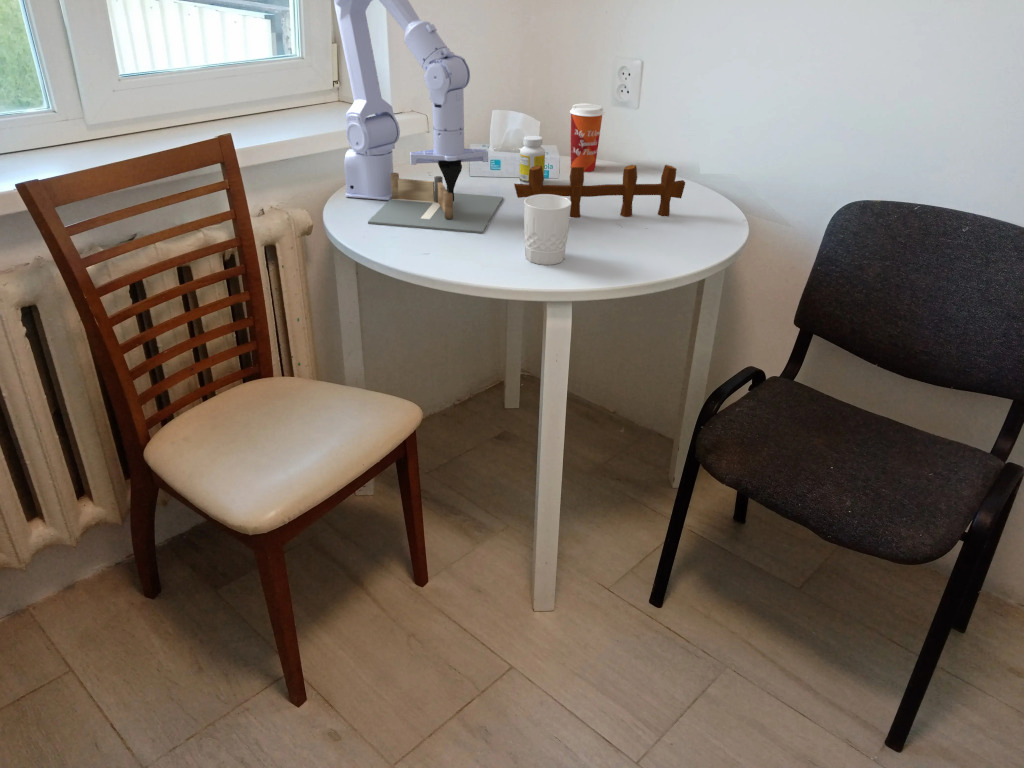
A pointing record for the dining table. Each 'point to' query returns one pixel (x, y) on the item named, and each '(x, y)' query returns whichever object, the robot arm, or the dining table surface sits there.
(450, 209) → the fence gate
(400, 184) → the fence base
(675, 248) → the dining table surface
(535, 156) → the supplement bottle
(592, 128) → the paper cup
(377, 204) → the dining table surface
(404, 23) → the robot arm
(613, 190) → the fence
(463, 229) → the board
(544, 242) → the white cup
